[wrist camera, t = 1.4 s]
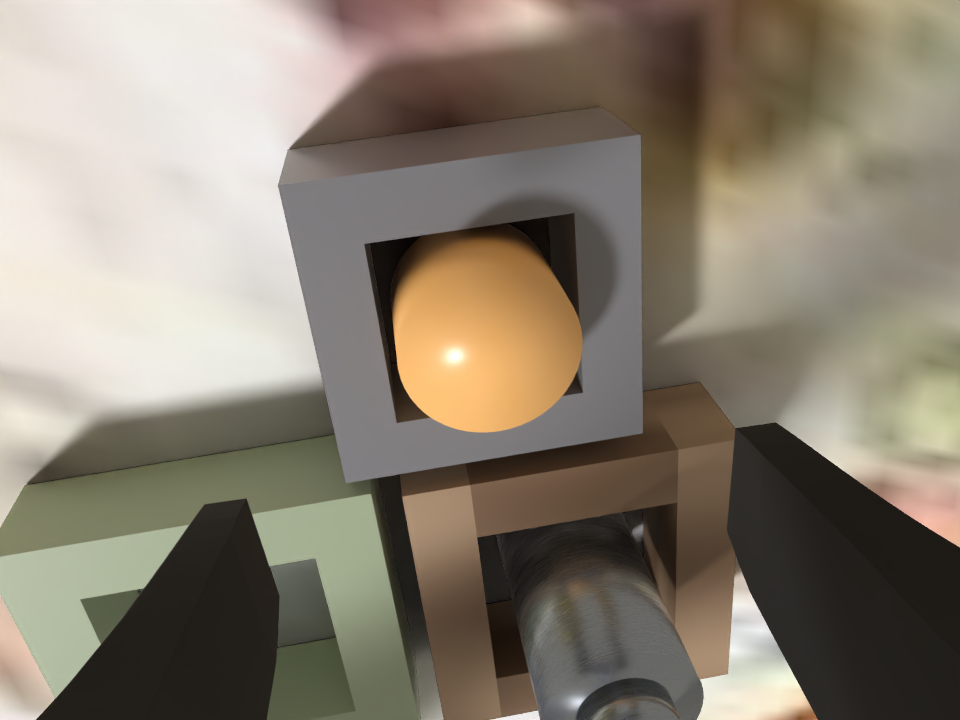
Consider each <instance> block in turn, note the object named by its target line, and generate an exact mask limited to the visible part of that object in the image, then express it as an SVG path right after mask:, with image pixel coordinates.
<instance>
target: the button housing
mask: <svg viewBox="0 0 960 720" xmlns="http://www.w3.org/2000/svg"><path fill="white" fill-rule="evenodd" d="M278 187H279V192H280V196H281V200H282V205H283V209H284V214H285V218H286V222H287V227H288V231H289V235H290V240H291V244H292V249H293V253H294V257H295V262H296V266H297V271H298V275H299V279H300V284H301V288H302V293H303V297H304V301H305V306H306V310H307V315H308V319H309V323H310V328H311V332H312V336H313V341H314V345H315V350H316V354H317V358H318V363H319V367H320V372H321V376H322V380H323V385H324V389H325V394H326V398H327V402H328V407H329V411H330V416H331V420H332V424H333V429H334V433H335V437H336V442H337V446H338V451H339V455H340V459H341V464H342V468H343V473H344V477H345V481H346V483H351V482H357V481H363V480H368V479H374V478H380V477H386V476H392V475H398V474H404V473H410V472H416V471H422V470H428V469H434V468H440V467H446V466H452V465H458V464H464V463H470V462H476V461H482V460H487V459H493V458H499V457H505V456H511V455H517V454H523V453H529V452H535V451H541V450H547V449H553V448H559V447H565V446H571V445H577V444H583V443H589V442H595V441H601V440H606V439H612V438H618V437H624V436H630V435H636V434H642V433H643V377H642V235H641V134H639V133H638V132H637V131H635V130H634V129H632V128H631V127H630V126H628V125H627V124H626V123H624V122H623V121H621V120H620V119H619V118H617V117H616V116H615V115H613V114H612V113H610V112H609V111H608V110H606V109H605V108H604V107H595V108H588V109H580V110H573V111H566V112H559V113H551V114H544V115H537V116H529V117H522V118H515V119H508V120H500V121H493V122H486V123H478V124H471V125H464V126H456V127H449V128H442V129H435V130H427V131H420V132H413V133H405V134H398V135H391V136H384V137H376V138H369V139H362V140H354V141H347V142H340V143H333V144H325V145H318V146H311V147H303V148H296V149H289V150H288V151H287V155H286V158H285V162H284V166H283V169H282V173H281V177H280V180H279V184H278ZM544 217H548V221H549V237H550V252H551V268H552V271H553V273H554V275H555V276H556V278H557V280H558V282H559V283H560V285H561V287H562V288H563V290H564V292H565V294H566V295H567V297H568V299H569V300H570V302H571V304H572V306H573V307H574V309H575V312H576V314H577V316H578V318H579V322H580V326H581V331H582V339H583V340H582V354H581V360H580V364H579V367H578V370H577V372H576V375H575V377H574V379H573V381H572V383H571V384H570V386H569V387H568V389H567V391H566V392H565V393H564V394H563V395H562V397H561V398H560V399H559V400H558V401H557V402H556V403H555V404H554V405H553V406H552V407H551V408H549V409H548V410H547V411H546V412H544V413H543V414H542V415H540V416H538V417H537V418H535V419H533V420H531V421H529V422H527V423H525V424H523V425H520V426H517V427H514V428H511V429H507V430H503V431H497V432H468V431H462V430H458V429H454V428H451V427H449V426H446V425H443V424H441V423H439V422H438V421H436V420H434V419H432V418H431V417H429V416H428V415H427V414H425V413H424V412H423V411H422V410H421V409H420V408H419V407H417V405H416V404H415V403H414V402H413V401H412V399H411V398H410V397H409V395H408V393H407V392H406V390H405V388H404V386H403V383H402V381H401V379H400V375H399V371H398V364H391V360H390V355H389V349H388V344H387V338H386V332H385V327H384V321H383V316H382V310H381V304H380V299H379V293H378V288H377V282H376V276H375V271H374V265H373V259H372V254H371V248H370V243H374V242H380V241H387V240H394V239H401V238H408V237H414V236H421V235H428V234H435V233H442V232H449V231H455V230H462V229H469V228H476V227H483V226H489V225H496V224H503V223H510V222H517V221H524V220H530V219H537V218H544Z"/></svg>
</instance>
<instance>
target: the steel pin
mask: <svg viewBox="0 0 960 720" xmlns="http://www.w3.org/2000/svg"><path fill="white" fill-rule="evenodd" d="M497 541H498V546H499V550H500V554H501V558H502V562H503V567H504V571H505V575H506V579H507V583H508V587H509V591H510V596H511V600H512V604H513V608H514V612H515V616H516V621H517V625H518V629H519V633H520V637H521V641H522V645H523V650H524V654H525V658H526V662H527V666H528V670H529V675H530V679H531V683H532V687H533V691H534V695H535V699H536V704H537V708H538V712H539V716H540V720H697V718H698V716H699V713H700V711H701V708H702V705H703V698H704V697H703V688H702V684H701V681H700V679H699V677H698V675H697V673H696V671H695V669H694V666H693V664H692V662H691V660H690V658H689V656H688V653H687V651H686V649H685V647H684V645H683V643H682V641H681V638H680V636H679V634H678V632H677V630H676V628H675V625H674V623H673V621H672V619H671V617H670V615H669V613H668V610H667V608H666V606H665V604H664V602H663V600H662V597H661V595H660V593H659V591H658V589H657V587H656V584H655V582H654V580H653V578H652V576H651V574H650V572H649V569H648V567H647V565H646V563H645V561H644V559H643V556H642V554H641V552H640V550H639V548H638V546H637V544H636V541H635V539H634V537H633V535H632V533H631V531H630V528H629V526H628V524H627V522H626V520H625V518H624V515H623V513H622V512H620V513H615V514H609V515H603V516H598V517H592V518H586V519H580V520H575V521H569V522H563V523H558V524H552V525H546V526H540V527H535V528H529V529H523V530H518V531H512V532H506V533H500V534H497Z"/></svg>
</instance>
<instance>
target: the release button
mask: <svg viewBox="0 0 960 720" xmlns="http://www.w3.org/2000/svg"><path fill="white" fill-rule="evenodd" d="M390 299H391V309H392V318H393V328H394V337H395V346H396V355H397V364H398V371H399V375H400V379H401V381H402V383H403V386H404V388H405V390H406V392H407V393H408V395H409V397H410V398H411V399H412V401H413V402H414V403H415V404H416V405H417V407H419V408H420V409H421V410H422V411H423V412H424V413H425V414H427V415H428V416H429V417H431V418H432V419H434V420H436V421H438V422H439V423H441V424H443V425H446V426H449V427H451V428H454V429H458V430H462V431H468V432H497V431H503V430H507V429H511V428H514V427H517V426H520V425H523V424H525V423H527V422H529V421H531V420H533V419H535V418H537V417H538V416H540V415H542V414H543V413H544V412H546V411H547V410H548V409H549V408H551V407H552V406H553V405H554V404H555V403H556V402H557V401H558V400H559V399H560V398H561V397H562V395H563V394H564V393H565V392H566V391H567V389H568V387H569V386H570V384H571V383H572V381H573V379H574V377H575V375H576V372H577V370H578V367H579V364H580V360H581V354H582V340H583V339H582V331H581V326H580V322H579V318H578V316H577V314H576V312H575V309H574V307H573V306H572V304H571V302H570V300H569V299H568V297H567V295H566V294H565V292H564V290H563V288H562V287H561V285H560V283H559V282H558V280H557V278H556V276H555V275H554V273H553V271H552V270H551V268H550V266H549V264H548V263H547V261H546V259H545V257H544V256H543V254H542V253H541V251H540V249H539V248H538V247H537V245H536V244H535V243H534V242H533V241H532V240H531V239H530V238H529V237H528V236H527V235H526V234H524V233H523V232H522V231H520V230H519V229H517V228H515V227H513V226H511V225H509V224H507V223H503V224H496V225H489V226H483V227H476V228H469V229H462V230H455V231H449V232H442V233H435V234H428V235H422V236H421V237H419V238H418V239H417V240H416V241H415V242H414V243H413V244H412V245H411V246H410V247H409V248H408V249H407V251H406V252H405V254H404V255H403V257H402V258H401V260H400V262H399V264H398V266H397V268H396V270H395V273H394V276H393V280H392V285H391V296H390Z"/></svg>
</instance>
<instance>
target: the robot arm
mask: <svg viewBox="0 0 960 720" xmlns="http://www.w3.org/2000/svg"><path fill="white" fill-rule="evenodd" d="M727 532H728V535H729V538H730V541H731V543H732V546H733V549H734V552H735V554H736V557H737V560H738V563H739V565H740V568H741V570H742V573H743V575H744V578H745V580H746V583H747V585H748V588H749V591H750V593H751V595H752V597H753V599H754V600H755V602H756V604H757V606H758V608H759V610H760V612H761V614H762V616H763V618H764V620H765V621H766V623H767V625H768V627H769V629H770V631H771V633H772V635H773V637H774V639H775V640H776V642H777V644H778V646H779V648H780V650H781V652H782V653H783V655H784V657H785V659H786V661H787V663H788V665H789V666H790V668H791V670H792V672H793V674H794V676H795V678H796V680H797V681H798V683H799V685H800V687H801V689H802V691H803V693H804V694H805V696H806V698H807V700H808V702H809V704H810V706H811V707H812V709H813V711H814V713H815V715H816V717H817V719H818V720H960V548H959V547H958V546H956V545H955V544H953V543H951V542H950V541H948V540H946V539H945V538H943V537H941V536H940V535H938V534H937V533H935V532H933V531H932V530H930V529H928V528H927V527H925V526H924V525H922V524H921V523H919V522H917V521H916V520H914V519H913V518H911V517H910V516H908V515H907V514H905V513H904V512H902V511H901V510H899V509H898V508H896V507H895V506H893V505H892V504H890V503H889V502H887V501H886V500H884V499H883V498H881V497H880V496H878V495H877V494H875V493H874V492H873V491H871V490H870V489H868V488H867V487H865V486H864V485H863V484H861V483H860V482H858V481H857V480H855V479H854V478H853V477H851V476H850V475H848V474H847V473H846V472H844V471H843V470H841V469H840V468H839V467H837V466H836V465H834V464H833V463H832V462H830V461H829V460H828V459H826V458H825V457H823V456H822V455H821V454H819V453H818V452H817V451H815V450H814V449H812V448H811V447H810V446H808V445H807V444H806V443H804V442H803V441H801V440H800V439H799V438H797V437H796V436H794V435H793V434H792V433H790V432H789V431H787V430H786V429H785V428H783V427H782V426H780V425H779V424H777V423H770V424H763V425H756V426H749V427H742V428H735V438H734V450H733V462H732V474H731V486H730V498H729V510H728V522H727ZM278 620H279V594H278V591H277V588H276V585H275V582H274V579H273V576H272V573H271V570H270V567H269V564H268V561H267V558H266V555H265V552H264V549H263V546H262V543H261V540H260V537H259V534H258V531H257V528H256V525H255V522H254V519H253V516H252V513H251V510H250V507H249V504H248V501H247V498H245V499H238V500H231V501H224V502H217V503H210V504H204V506H203V507H202V508H201V509H200V511H199V512H198V513H197V515H196V516H195V518H194V519H193V520H192V522H191V523H190V524H189V526H188V527H187V529H186V530H185V532H184V533H183V534H182V536H181V537H180V539H179V540H178V541H177V543H176V544H175V546H174V547H173V549H172V550H171V551H170V553H169V554H168V556H167V557H166V559H165V560H164V561H163V563H162V564H161V566H160V567H159V568H158V570H157V571H156V572H155V574H154V575H153V577H152V578H151V579H150V581H149V582H148V584H147V585H146V586H145V588H144V589H143V590H142V592H141V593H140V594H139V596H138V597H137V598H136V600H135V601H134V602H133V604H132V605H131V606H130V608H129V609H128V610H127V612H126V613H125V614H124V616H123V617H122V618H121V620H120V621H119V622H118V624H117V625H116V626H115V627H114V629H113V630H112V631H111V633H110V634H109V635H108V636H107V638H106V639H105V640H104V641H103V642H102V644H101V645H100V646H99V647H98V649H97V650H96V651H95V652H94V653H93V655H92V656H91V657H90V658H89V660H88V661H87V662H86V663H85V664H84V666H83V667H82V668H81V669H80V670H79V672H78V673H77V674H76V675H75V677H74V678H73V679H72V680H71V681H70V683H69V684H68V685H67V686H66V687H65V688H64V689H63V691H62V692H61V693H60V694H59V695H58V696H57V697H56V699H55V700H54V701H53V702H52V703H51V704H50V705H49V706H48V708H47V709H46V710H45V711H44V712H43V713H42V714H41V715H40V716H39V717H38V718H37V719H36V720H267V715H268V709H269V703H270V697H271V691H272V685H273V679H274V673H275V667H276V658H277V641H278Z"/></svg>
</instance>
